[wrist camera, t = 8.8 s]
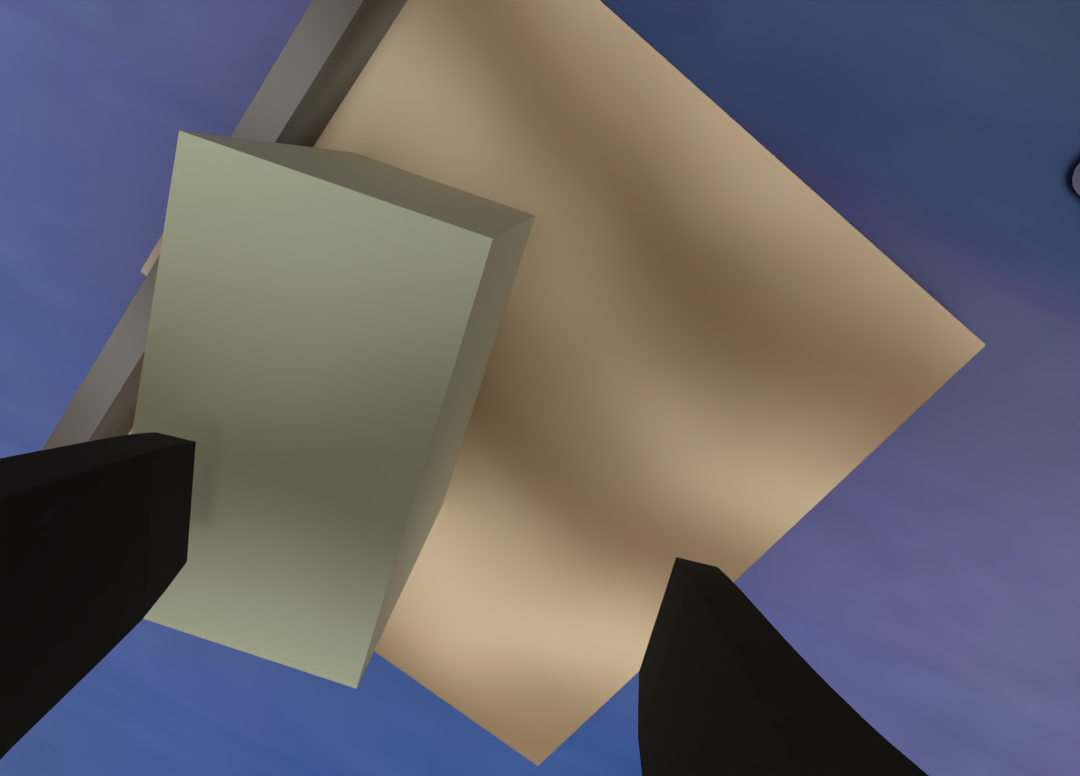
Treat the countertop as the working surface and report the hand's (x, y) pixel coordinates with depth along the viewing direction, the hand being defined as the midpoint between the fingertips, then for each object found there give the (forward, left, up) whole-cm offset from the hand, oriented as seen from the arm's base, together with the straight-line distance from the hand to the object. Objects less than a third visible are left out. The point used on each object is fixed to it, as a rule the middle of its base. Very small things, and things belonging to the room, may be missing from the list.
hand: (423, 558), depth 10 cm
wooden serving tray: (0, 0, -9) cm, 9 cm away
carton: (0, -3, -8) cm, 8 cm away
